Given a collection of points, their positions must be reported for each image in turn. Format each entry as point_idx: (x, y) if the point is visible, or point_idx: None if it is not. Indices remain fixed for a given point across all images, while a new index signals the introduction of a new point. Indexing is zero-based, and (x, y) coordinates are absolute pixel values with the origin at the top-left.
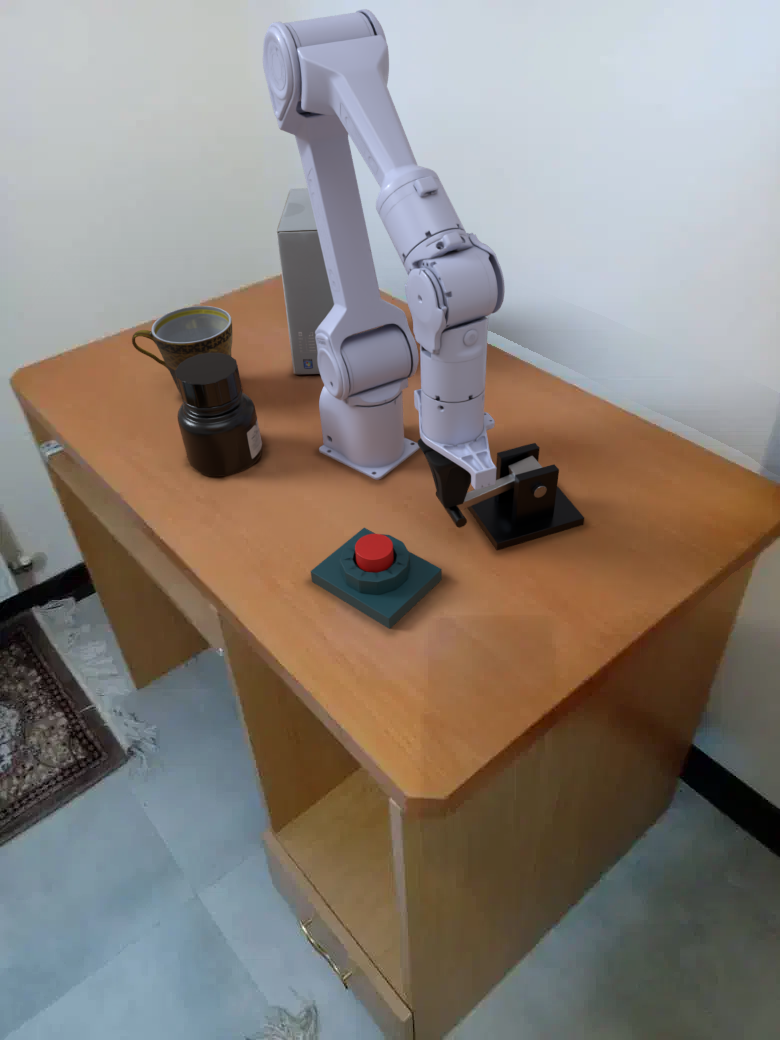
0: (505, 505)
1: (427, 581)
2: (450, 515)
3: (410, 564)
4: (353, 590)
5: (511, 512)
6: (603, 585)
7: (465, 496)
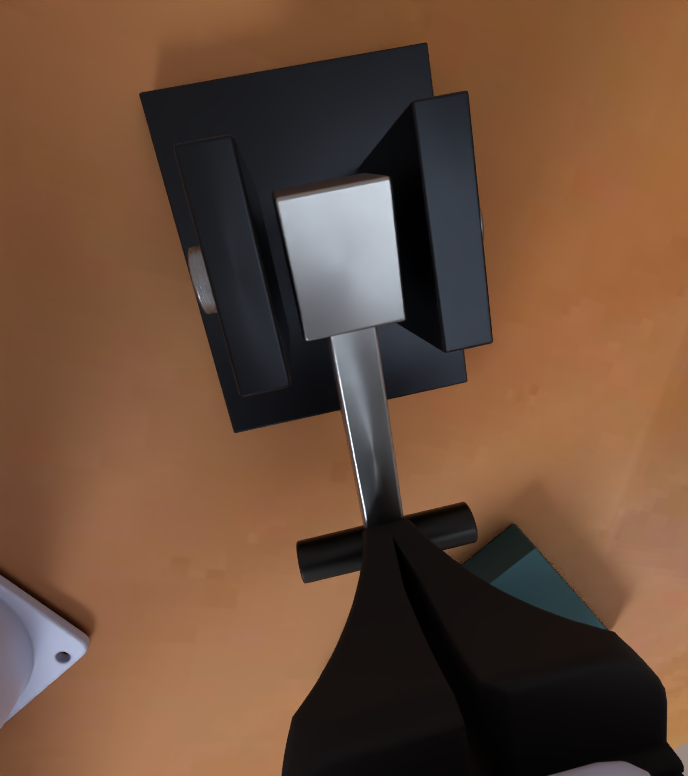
0: None
1: (565, 584)
2: None
3: None
4: None
5: None
6: (665, 106)
7: (419, 530)
